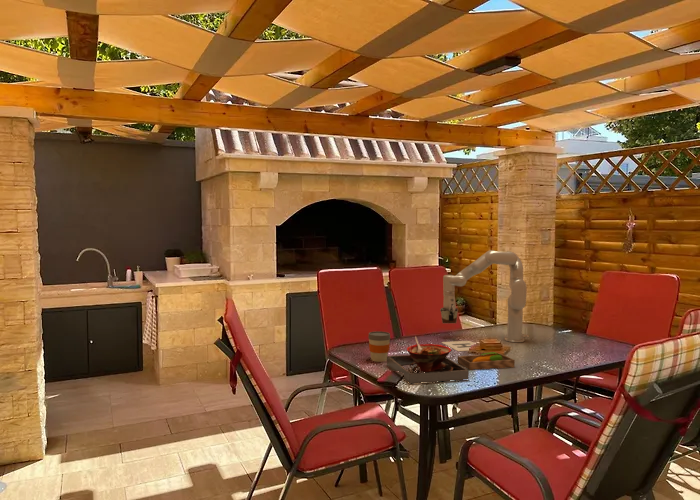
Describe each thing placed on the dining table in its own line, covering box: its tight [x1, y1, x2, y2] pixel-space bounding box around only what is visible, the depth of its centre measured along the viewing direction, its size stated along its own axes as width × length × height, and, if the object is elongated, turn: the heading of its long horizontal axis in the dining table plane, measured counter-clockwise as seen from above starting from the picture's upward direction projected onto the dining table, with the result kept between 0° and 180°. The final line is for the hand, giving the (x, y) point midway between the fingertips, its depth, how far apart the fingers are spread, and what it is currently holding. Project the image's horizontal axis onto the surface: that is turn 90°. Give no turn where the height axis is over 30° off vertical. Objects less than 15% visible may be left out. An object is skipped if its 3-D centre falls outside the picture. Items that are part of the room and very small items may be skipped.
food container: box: [439, 307, 459, 324], centre depth 364 cm, size 12×6×10 cm, turn 87°
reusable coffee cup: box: [367, 330, 391, 363], centre depth 305 cm, size 13×13×15 cm
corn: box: [472, 351, 503, 362], centre depth 294 cm, size 7×8×20 cm
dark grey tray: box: [386, 354, 470, 384], centre depth 280 cm, size 31×35×5 cm
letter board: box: [441, 340, 476, 353], centre depth 341 cm, size 20×24×1 cm
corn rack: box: [457, 353, 516, 371], centre depth 296 cm, size 27×14×4 cm, turn 105°
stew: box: [406, 335, 453, 373], centre depth 284 cm, size 28×24×16 cm
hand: (449, 319), depth 363 cm, fingers closed on food container, 5 cm apart
